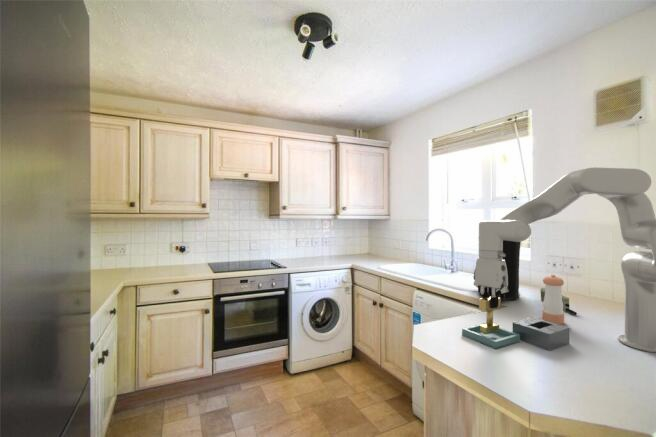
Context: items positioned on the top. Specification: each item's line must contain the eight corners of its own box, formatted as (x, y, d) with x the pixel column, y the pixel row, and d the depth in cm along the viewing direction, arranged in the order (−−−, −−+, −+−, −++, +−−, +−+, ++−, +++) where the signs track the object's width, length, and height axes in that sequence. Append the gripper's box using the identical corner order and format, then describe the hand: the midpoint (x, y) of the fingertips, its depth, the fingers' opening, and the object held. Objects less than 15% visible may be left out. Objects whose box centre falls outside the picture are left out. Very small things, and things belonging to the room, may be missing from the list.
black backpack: (514, 290, 175) (514, 233, 175) (536, 306, 144) (537, 236, 144) (472, 288, 181) (472, 232, 181) (484, 303, 150) (485, 236, 150)
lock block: (569, 343, 102) (569, 327, 102) (549, 350, 97) (549, 334, 97) (532, 331, 113) (532, 317, 113) (512, 337, 107) (512, 322, 107)
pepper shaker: (568, 324, 120) (568, 277, 120) (547, 323, 121) (547, 276, 121) (558, 318, 127) (558, 273, 127) (538, 317, 129) (539, 273, 128)
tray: (519, 341, 104) (519, 334, 104) (495, 349, 98) (495, 341, 98) (485, 329, 115) (485, 322, 115) (462, 335, 109) (462, 328, 109)
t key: (485, 334, 104) (485, 300, 104) (478, 332, 106) (479, 298, 106) (500, 331, 107) (500, 297, 107) (493, 328, 109) (494, 296, 109)
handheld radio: (546, 300, 155) (579, 316, 130) (539, 300, 156) (571, 316, 131) (546, 287, 155) (579, 301, 130) (539, 287, 156) (570, 301, 131)
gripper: (519, 257, 101) (519, 311, 101) (477, 252, 115) (476, 299, 115) (505, 258, 97) (505, 314, 98) (463, 253, 112) (463, 302, 112)
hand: (490, 306), depth 106 cm, fingers closed on t key, 2 cm apart
